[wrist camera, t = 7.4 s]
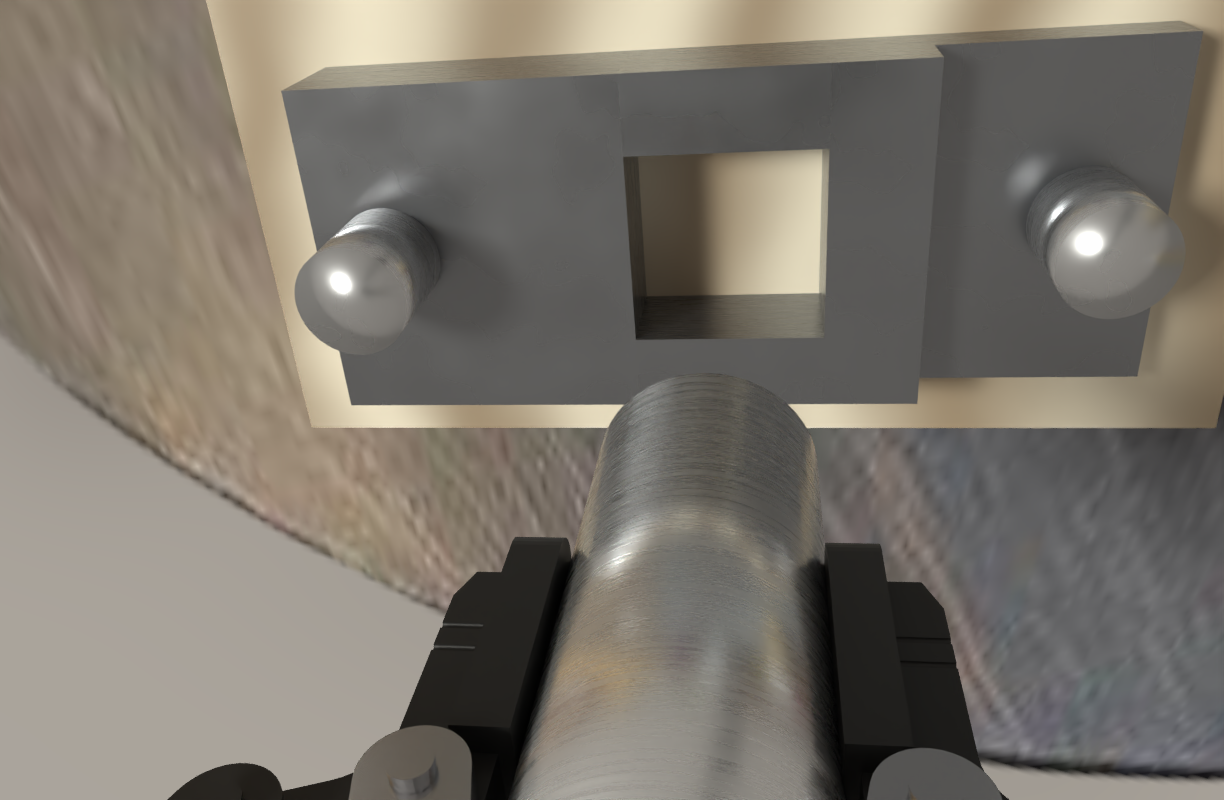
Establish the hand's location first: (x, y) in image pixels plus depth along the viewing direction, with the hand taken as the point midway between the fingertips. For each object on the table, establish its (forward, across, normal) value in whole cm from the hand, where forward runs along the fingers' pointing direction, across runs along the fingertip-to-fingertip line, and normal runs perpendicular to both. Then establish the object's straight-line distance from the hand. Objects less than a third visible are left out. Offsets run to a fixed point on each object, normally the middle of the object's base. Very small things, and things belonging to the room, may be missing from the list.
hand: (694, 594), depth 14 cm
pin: (+3, 0, 0) cm, 3 cm away
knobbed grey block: (+18, 0, 0) cm, 18 cm away
